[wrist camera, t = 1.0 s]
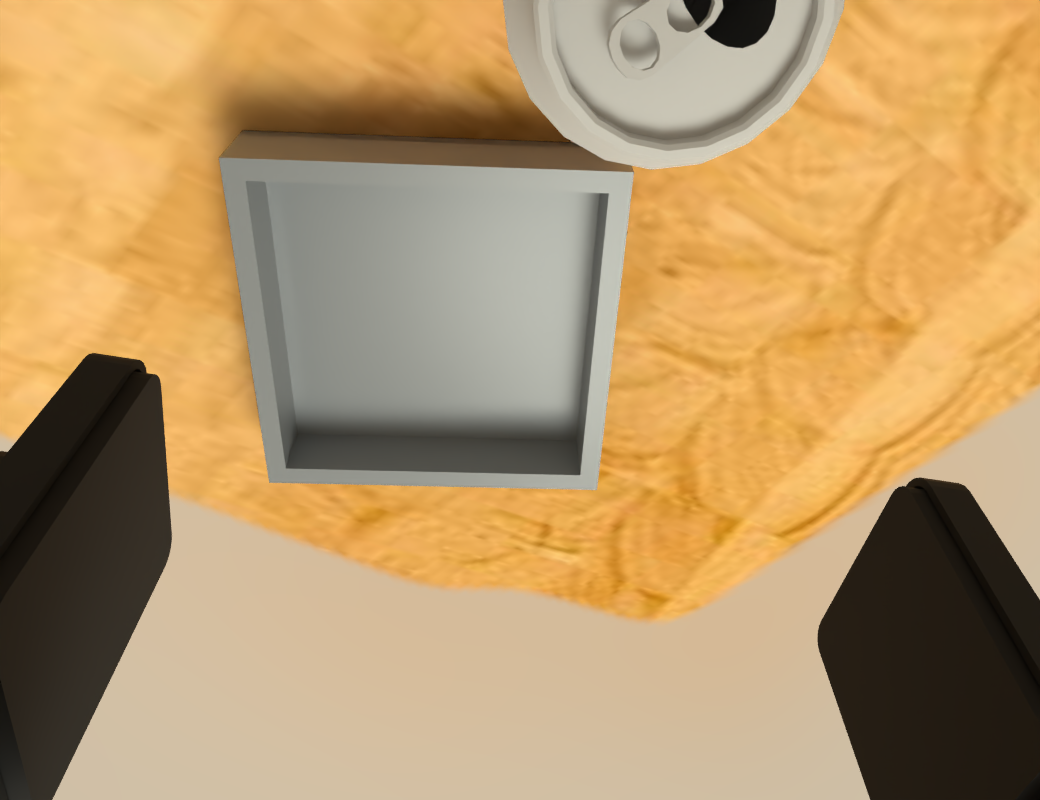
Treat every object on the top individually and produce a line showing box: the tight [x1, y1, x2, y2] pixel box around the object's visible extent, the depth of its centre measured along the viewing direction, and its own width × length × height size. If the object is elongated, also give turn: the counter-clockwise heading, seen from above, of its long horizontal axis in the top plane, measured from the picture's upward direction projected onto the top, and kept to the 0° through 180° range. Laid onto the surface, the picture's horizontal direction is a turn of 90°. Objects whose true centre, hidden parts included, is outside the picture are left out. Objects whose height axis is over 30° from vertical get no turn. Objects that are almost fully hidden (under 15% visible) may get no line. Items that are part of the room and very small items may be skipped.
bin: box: [219, 130, 634, 490], centre depth 33 cm, size 14×14×3 cm
